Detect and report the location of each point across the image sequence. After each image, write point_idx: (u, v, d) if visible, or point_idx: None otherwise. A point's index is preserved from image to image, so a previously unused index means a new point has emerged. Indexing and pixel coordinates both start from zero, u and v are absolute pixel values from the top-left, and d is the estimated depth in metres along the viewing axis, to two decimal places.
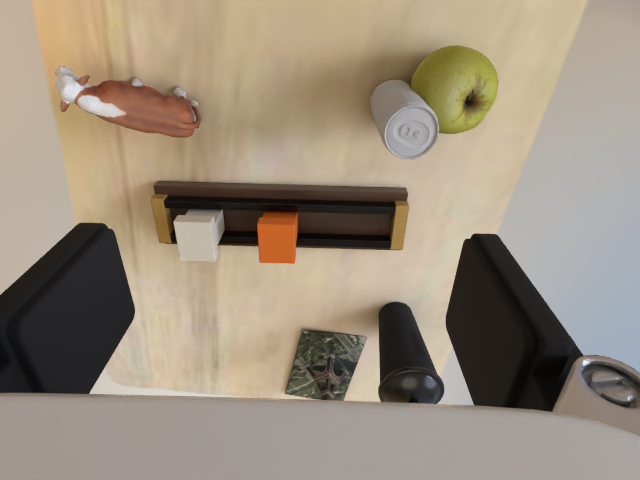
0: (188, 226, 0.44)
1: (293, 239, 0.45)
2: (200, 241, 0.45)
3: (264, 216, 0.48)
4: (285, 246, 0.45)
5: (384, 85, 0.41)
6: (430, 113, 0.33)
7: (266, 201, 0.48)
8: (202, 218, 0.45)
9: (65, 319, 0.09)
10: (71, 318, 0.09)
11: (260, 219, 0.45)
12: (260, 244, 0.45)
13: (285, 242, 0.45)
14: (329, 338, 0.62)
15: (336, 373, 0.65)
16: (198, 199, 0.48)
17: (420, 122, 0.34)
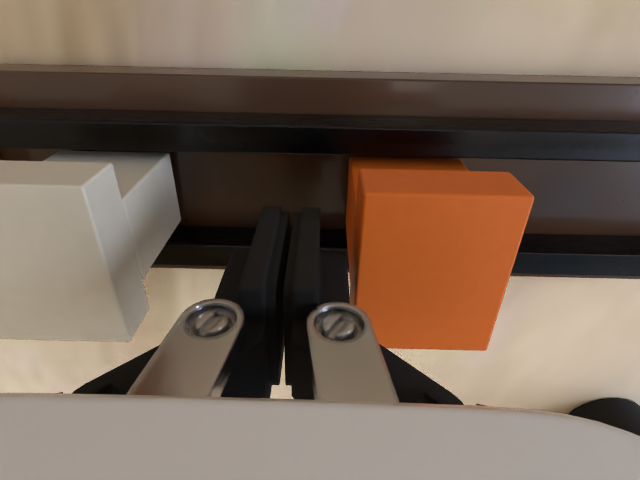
0: None
1: (511, 261, 0.10)
2: (55, 269, 0.11)
3: None
4: (468, 289, 0.11)
5: None
6: None
7: (319, 120, 0.14)
8: (57, 170, 0.10)
9: (281, 288, 0.10)
10: (282, 288, 0.10)
11: (368, 175, 0.10)
12: (365, 282, 0.11)
13: (473, 273, 0.11)
14: None
15: None
16: (80, 114, 0.14)
17: None
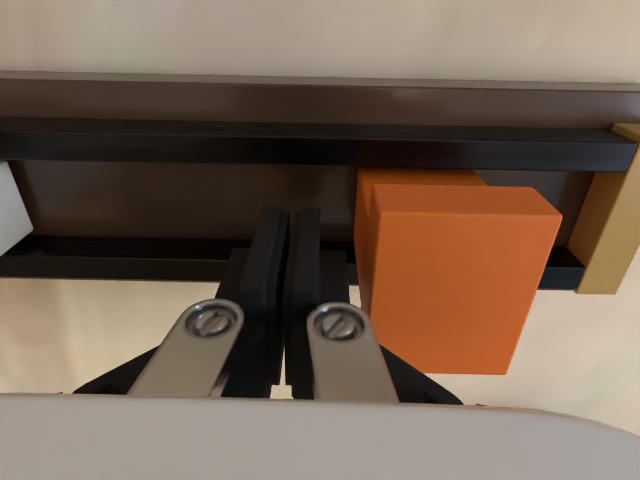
0: None
1: (535, 282, 0.10)
2: None
3: (369, 186, 0.13)
4: (489, 312, 0.10)
5: None
6: None
7: (148, 126, 0.13)
8: None
9: (281, 288, 0.10)
10: (282, 288, 0.10)
11: (383, 191, 0.10)
12: (378, 304, 0.10)
13: (494, 296, 0.10)
14: None
15: None
16: None
17: None
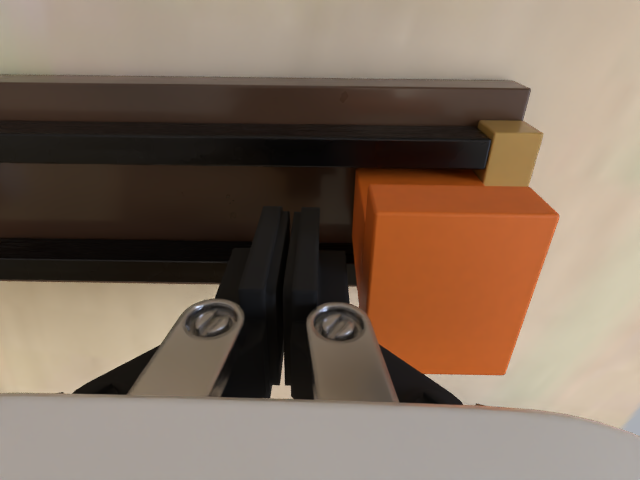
0: None
1: (532, 282, 0.10)
2: None
3: (366, 187, 0.13)
4: (486, 312, 0.10)
5: None
6: None
7: (8, 127, 0.13)
8: None
9: (281, 288, 0.10)
10: (282, 288, 0.10)
11: (379, 192, 0.10)
12: (376, 305, 0.10)
13: (492, 296, 0.10)
14: None
15: None
16: None
17: None
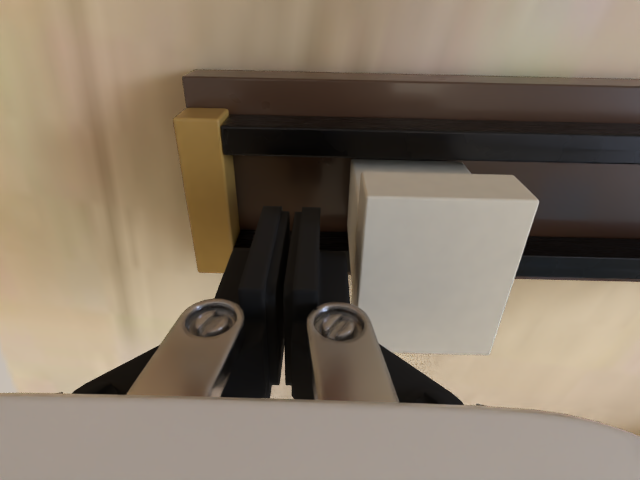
0: (430, 218, 0.10)
1: None
2: (460, 283, 0.11)
3: None
4: None
5: None
6: None
7: (585, 128, 0.13)
8: (481, 183, 0.10)
9: (281, 288, 0.10)
10: (281, 288, 0.10)
11: None
12: None
13: None
14: None
15: None
16: (342, 122, 0.14)
17: None
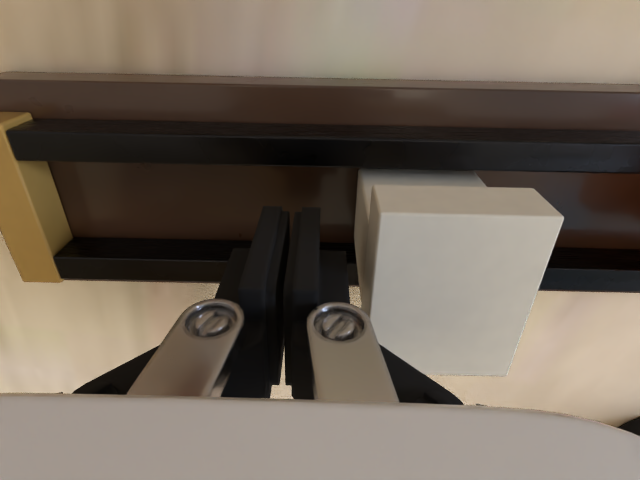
0: (447, 236, 0.09)
1: None
2: (478, 302, 0.10)
3: None
4: None
5: None
6: None
7: (392, 132, 0.13)
8: (500, 197, 0.10)
9: (281, 288, 0.10)
10: (282, 288, 0.10)
11: None
12: None
13: None
14: None
15: None
16: (140, 126, 0.13)
17: None
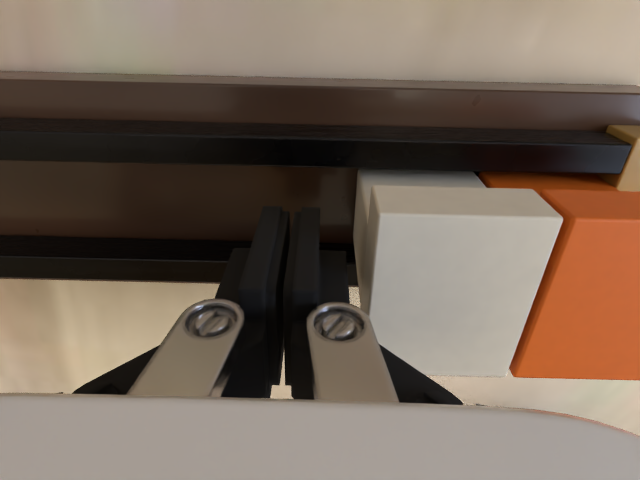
0: (446, 237, 0.09)
1: None
2: (477, 303, 0.10)
3: None
4: None
5: None
6: None
7: (142, 127, 0.13)
8: (499, 198, 0.10)
9: (281, 288, 0.10)
10: (282, 288, 0.10)
11: (561, 197, 0.10)
12: (548, 310, 0.10)
13: None
14: None
15: None
16: None
17: None
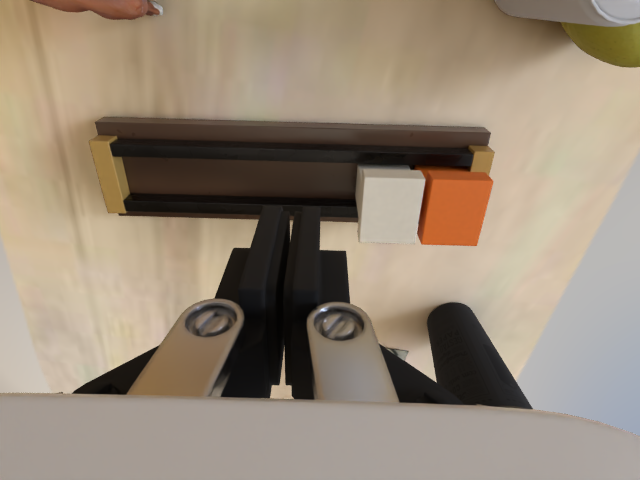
0: (387, 185, 0.27)
1: (485, 205, 0.28)
2: (400, 211, 0.28)
3: None
4: (469, 217, 0.28)
5: None
6: None
7: (270, 145, 0.31)
8: (406, 173, 0.27)
9: (281, 288, 0.10)
10: (282, 288, 0.10)
11: (432, 173, 0.27)
12: (429, 214, 0.28)
13: (471, 210, 0.28)
14: None
15: None
16: (164, 142, 0.31)
17: None
